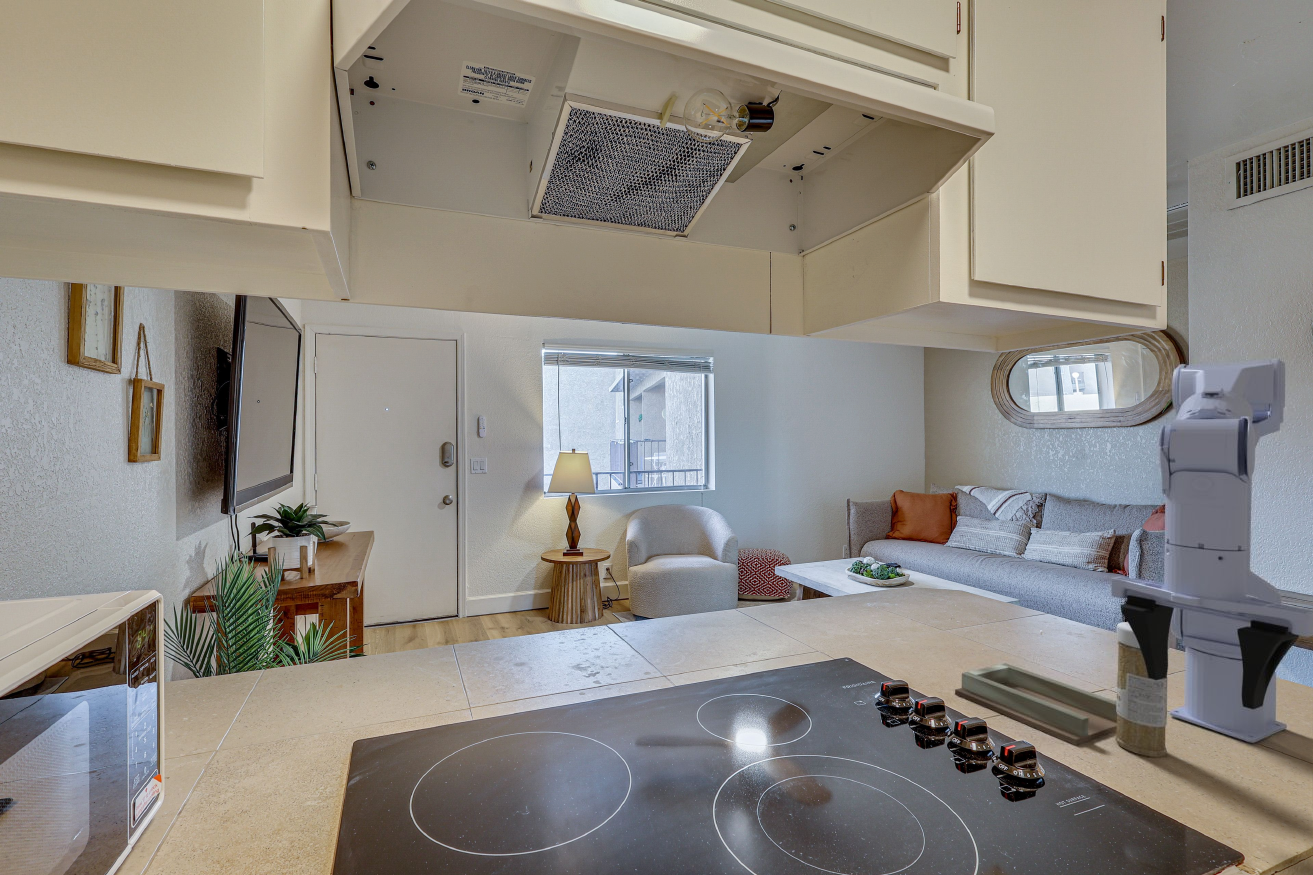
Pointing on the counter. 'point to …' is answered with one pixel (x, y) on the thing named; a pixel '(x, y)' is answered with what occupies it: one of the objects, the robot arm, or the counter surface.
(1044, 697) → the bottle rest
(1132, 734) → the sprinkles bottle
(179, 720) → the counter surface
